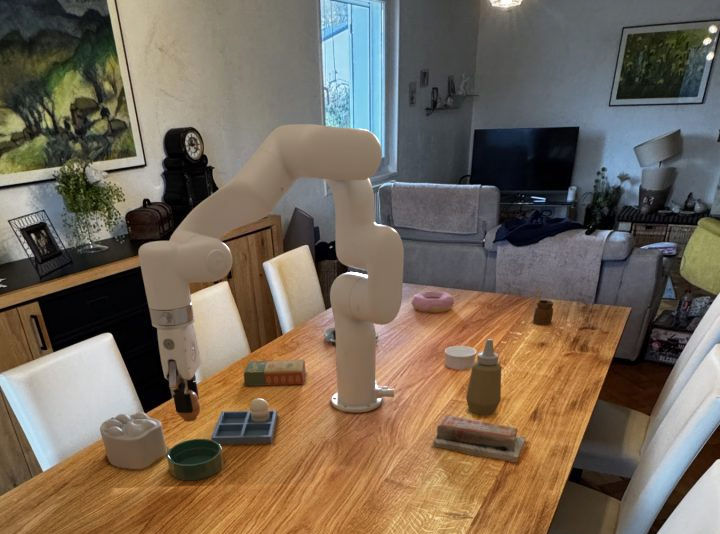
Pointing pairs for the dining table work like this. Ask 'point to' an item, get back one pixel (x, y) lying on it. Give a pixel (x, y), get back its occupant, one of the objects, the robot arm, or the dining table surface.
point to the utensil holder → (543, 311)
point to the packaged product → (479, 438)
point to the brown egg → (196, 408)
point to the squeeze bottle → (485, 383)
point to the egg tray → (243, 428)
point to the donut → (432, 301)
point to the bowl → (195, 459)
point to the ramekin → (460, 357)
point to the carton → (274, 372)
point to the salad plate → (333, 336)
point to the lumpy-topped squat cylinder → (133, 440)
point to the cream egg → (259, 410)
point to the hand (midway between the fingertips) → (187, 405)
